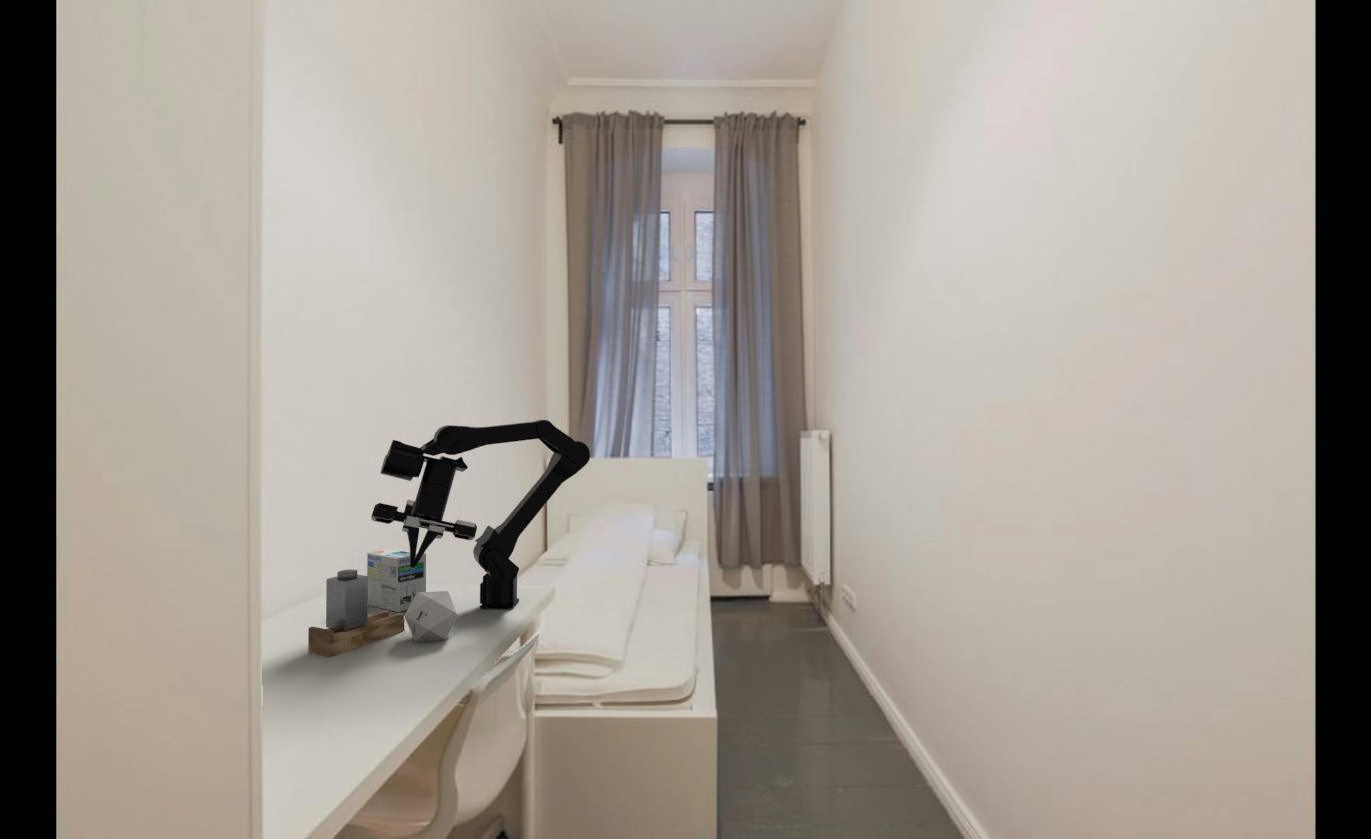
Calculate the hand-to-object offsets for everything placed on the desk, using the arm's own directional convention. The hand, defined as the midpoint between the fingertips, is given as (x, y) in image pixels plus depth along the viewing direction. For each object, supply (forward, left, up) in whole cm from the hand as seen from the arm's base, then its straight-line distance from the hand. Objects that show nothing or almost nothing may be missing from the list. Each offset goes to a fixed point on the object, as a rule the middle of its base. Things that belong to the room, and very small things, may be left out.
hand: (412, 567), depth 125 cm
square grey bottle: (+6, +13, -8) cm, 16 cm away
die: (-7, +9, -10) cm, 15 cm away
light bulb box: (+8, -12, -10) cm, 17 cm away
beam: (+5, +11, -10) cm, 15 cm away
